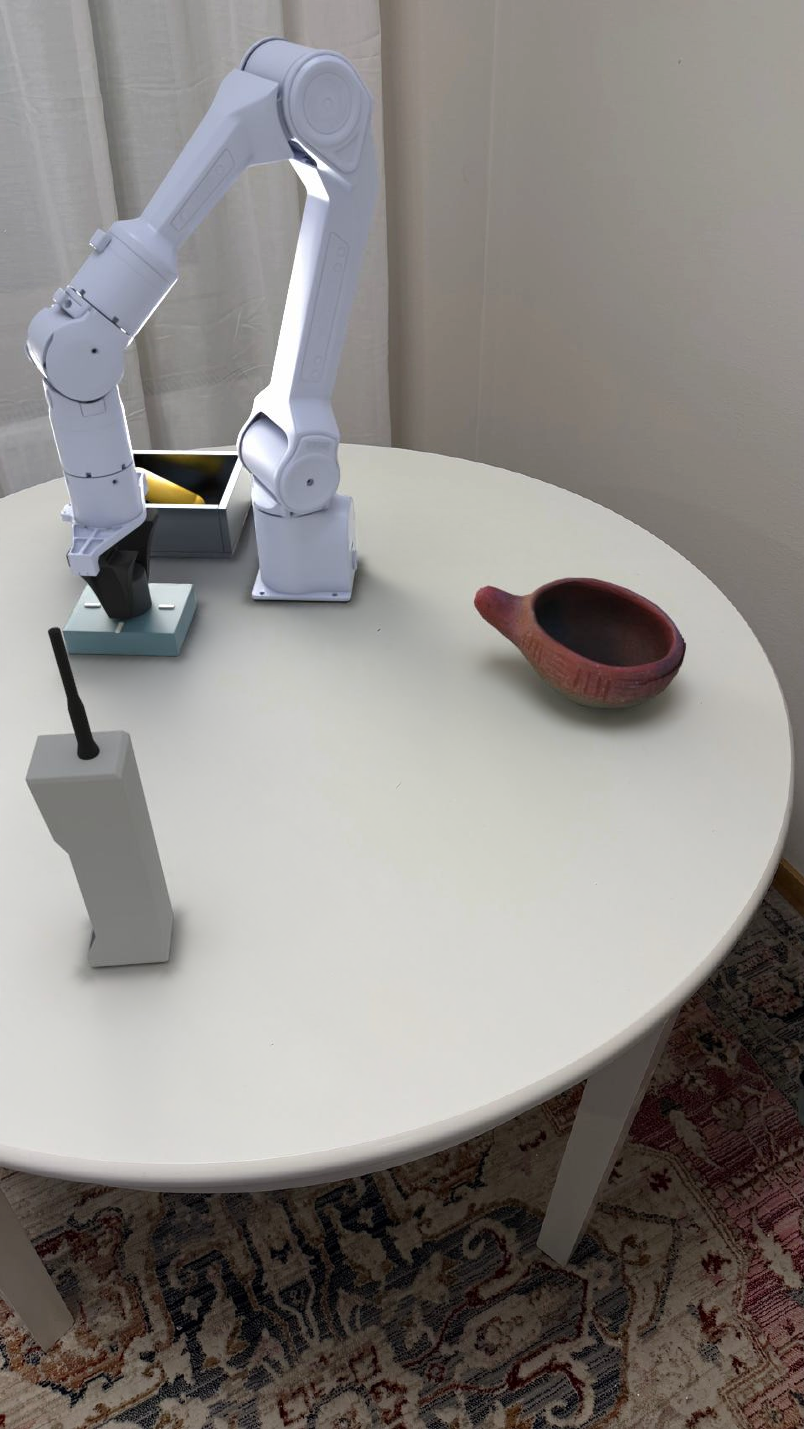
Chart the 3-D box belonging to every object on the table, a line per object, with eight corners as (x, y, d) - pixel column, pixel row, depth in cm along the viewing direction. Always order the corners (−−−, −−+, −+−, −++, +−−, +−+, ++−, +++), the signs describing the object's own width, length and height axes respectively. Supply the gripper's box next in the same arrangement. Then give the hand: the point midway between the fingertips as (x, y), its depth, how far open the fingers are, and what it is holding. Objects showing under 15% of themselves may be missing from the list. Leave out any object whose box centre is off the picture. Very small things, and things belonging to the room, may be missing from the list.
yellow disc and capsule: (203, 514, 109) (213, 493, 107) (196, 532, 106) (205, 512, 104) (93, 461, 106) (101, 439, 104) (82, 479, 103) (90, 457, 101)
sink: (253, 498, 112) (247, 451, 108) (232, 558, 102) (225, 508, 98) (114, 496, 112) (104, 449, 109) (81, 555, 103) (69, 506, 99)
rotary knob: (116, 592, 93) (108, 556, 90) (158, 595, 92) (151, 559, 90) (100, 616, 90) (91, 580, 87) (142, 620, 89) (135, 584, 87)
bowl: (638, 632, 91) (651, 556, 86) (697, 722, 82) (716, 642, 77) (467, 655, 89) (470, 578, 84) (507, 750, 79) (513, 670, 74)
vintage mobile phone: (98, 922, 67) (-2, 610, 51) (174, 917, 67) (98, 604, 51) (90, 969, 64) (-20, 654, 48) (169, 963, 64) (87, 648, 48)
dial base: (197, 605, 96) (193, 581, 94) (178, 657, 89) (173, 632, 88) (94, 603, 96) (88, 579, 94) (67, 654, 90) (60, 630, 88)
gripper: (80, 423, 88) (111, 557, 97) (15, 503, 77) (57, 646, 86) (159, 425, 87) (183, 560, 96) (105, 506, 76) (137, 651, 85)
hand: (128, 601), depth 91 cm, fingers closed on rotary knob, 4 cm apart
